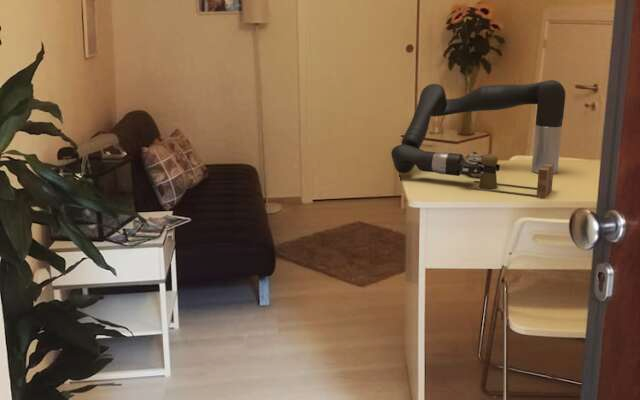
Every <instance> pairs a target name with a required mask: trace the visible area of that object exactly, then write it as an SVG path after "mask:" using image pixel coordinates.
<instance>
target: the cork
mask: <svg viewBox="0 0 640 400" xmlns="http://www.w3.org/2000/svg"><path fill="white" fill-rule="evenodd" d="M481 158H482V163H483V165H484V167H485V166H494V167H496V164H498V163H499V162H498V160H499V159H498V157H497V156H496V154H495V155H494V154H484V155H482V156H481ZM479 181H480V182H479V183H478V188H483V189H491V190H497V188H498V185H497V183H498V181H497V172H496V173H495V174H494V173H481V177H479Z"/></svg>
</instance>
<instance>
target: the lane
mask: <svg viewBox="0 0 640 400" xmlns="http://www.w3.org/2000/svg"><path fill="white" fill-rule="evenodd" d="M553 171H554V164H553V163H546V164H545V165H543V166H542V167H541V168H540V169H539V173H537V175H538V176H537V187H533V186H525V185H517V184H507V183H501V182H500V183H499V182H497V186H502V187H509V188H510V187H511V188H520V189H529V190H535V191H536V194H531V193H525V192H524V193H523V192H515V191H507V190H499V189H483V188H480V187H474V186H466V187H465V189H467V190H476V191H484V192H490V193H491V192H492V193H501V194H507V195H516V196H517V195H518V196H526V197H533V198H538V197H540V199H545V198H546V197H547V196H548V195H550V194H551V192H552V190H553V189H552V188H553V182H554V181H553V179H554V174H553ZM479 182H480V180H474V181H473V183H476V184H477V183H478V184H479Z"/></svg>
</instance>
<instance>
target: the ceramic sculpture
mask: <svg viewBox="0 0 640 400" xmlns="http://www.w3.org/2000/svg"><path fill="white" fill-rule="evenodd" d="M468 159H477V160H482V156H481V155H480V154H479V153H478V152H476V151H473V152H471V154H467V155H466V156H464V160H465V161H468ZM467 174H469V173H467ZM469 175H470V176H471V177H472V178H480V177H481V174H469Z"/></svg>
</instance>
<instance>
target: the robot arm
mask: <svg viewBox="0 0 640 400" xmlns="http://www.w3.org/2000/svg"><path fill="white" fill-rule="evenodd" d="M565 103H566V90H565V88H564V86H563V84H562V83H561V82H559V81H557V80H553V79H550V80H544V81H539V82H535V83H528V84H489V85H482V86H479V87H477V88H475V89H473V90H472V91H470V92H467V94H465V95H463V96H461V97H457V98H449V99H447V95H446V91H445V88H444V87H443V86H442V85H441V84H438V83H431V84H428V85H426V86H425V87H424V88H423V89H422V90H421V93H420V96H419V100H418V102H417V105H416V109H415V112H414V114H413V117H412V119H411V121H410V123H409V126H408V128H407V129H406V131H405V133H404V135H403V137H402V139H401V144H399V145H395V146H394V147H393V148H392V150H391V153H390V154H391V159H392V162H393V166H394V169H395V170H396V171H397V172H398V173H399V174H407V173H410V172H411V171H412V170H413V169H414V168H415V166H416V168H417V169H418V170H419V171H421V172H427V173H434V174H440V175H448V176H453V177H454V176H456V177H460V176H461V175H462V174H468V173H469V175H470V174H481V173H494V174H495V173H496V174H497V172H499V171H500V167H501V166H500V164H499V163H497V164H496V167H494V166H485V167H484V165H483V163H482V160H477V159H468V161H465V160H464V158H465V156H464V155H463V154H462V153H455V152H454V153H453V152H444V151H439V152H436V151H426V150H423V149H420V148H421V146H422V145H423V142H424V140H425V139H426V137H427V133H428V129H429V124H430V122H431V121H430V120H431V117H441V116H442V117H443V116H448V115H455V114H462V113H472V112H473V113H474V112H482V111H483V112H484V111H485V112H488V111H489V112H490V111H500V110H501V111H502V110H505V109H511V108H515V107H519V106H523V105H536V106H537V107H536V116H535V125H534V127H535V128H534V137H533V150H532V151H533V152H532V162H531V172H533V173H536V174H539V169H540V168H541V167H542V166H543V165H545V164H546V163H553V164H554V171H553V175H555V174H558V171H559V162H560V151H561V142H562V141H561V138H562V129H563V128H562V127H563V121H564V114H565V113H564V112H565Z"/></svg>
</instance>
